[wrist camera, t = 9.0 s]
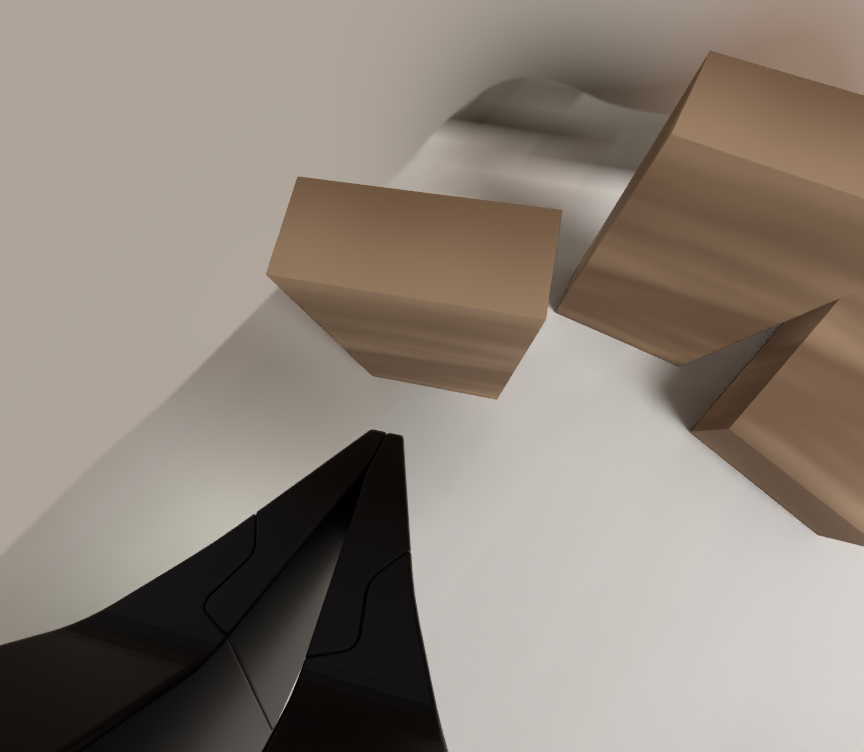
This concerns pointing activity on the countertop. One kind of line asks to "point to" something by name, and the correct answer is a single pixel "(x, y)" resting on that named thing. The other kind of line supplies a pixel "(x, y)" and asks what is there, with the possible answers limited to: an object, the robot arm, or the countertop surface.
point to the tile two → (419, 279)
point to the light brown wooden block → (731, 216)
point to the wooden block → (802, 419)
